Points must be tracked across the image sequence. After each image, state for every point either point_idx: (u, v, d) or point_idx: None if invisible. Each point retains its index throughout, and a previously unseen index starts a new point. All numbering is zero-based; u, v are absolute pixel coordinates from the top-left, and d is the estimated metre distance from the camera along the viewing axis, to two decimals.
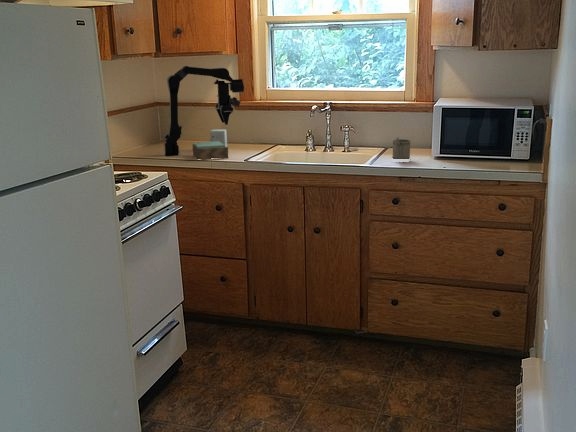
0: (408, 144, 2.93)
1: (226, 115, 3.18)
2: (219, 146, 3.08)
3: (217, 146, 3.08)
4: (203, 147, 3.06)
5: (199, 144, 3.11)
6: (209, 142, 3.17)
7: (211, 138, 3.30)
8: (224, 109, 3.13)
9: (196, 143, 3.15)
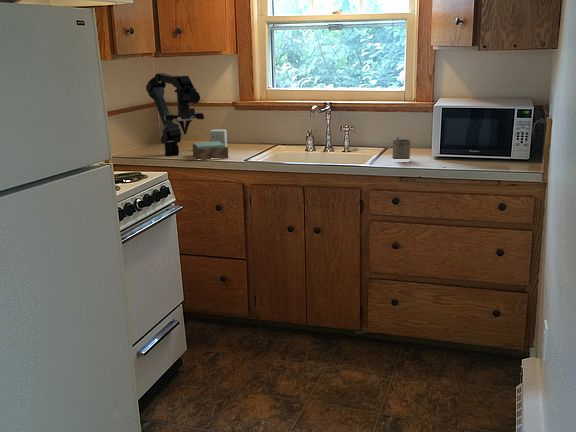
0: (408, 144, 2.93)
1: None
2: (219, 146, 3.08)
3: (217, 146, 3.08)
4: (203, 147, 3.06)
5: (199, 144, 3.11)
6: (209, 142, 3.17)
7: (211, 138, 3.30)
8: (164, 117, 3.05)
9: (196, 143, 3.15)
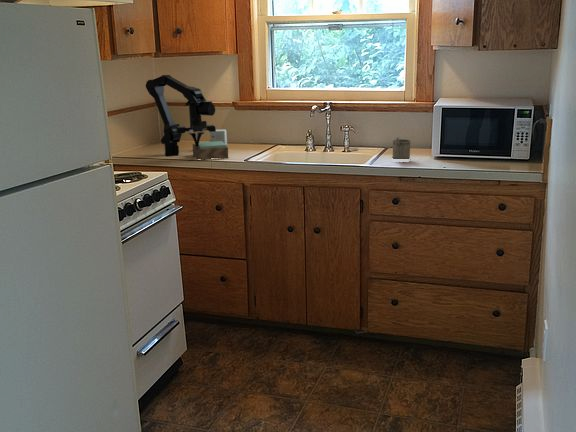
0: (408, 144, 2.93)
1: None
2: (221, 146, 3.08)
3: (219, 146, 3.08)
4: (205, 147, 3.06)
5: (201, 144, 3.12)
6: (211, 142, 3.17)
7: (211, 138, 3.30)
8: (176, 130, 3.08)
9: None
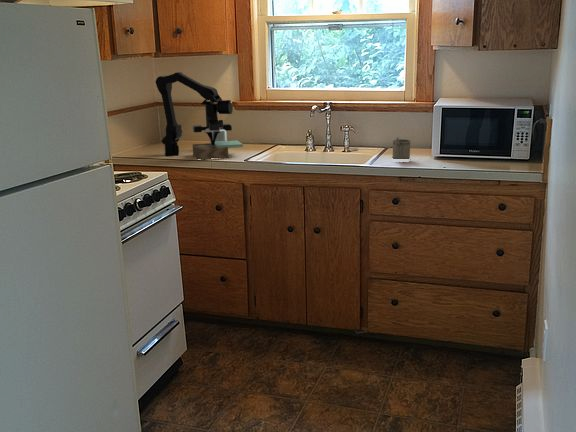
0: (408, 144, 2.93)
1: None
2: (238, 145, 3.10)
3: (236, 145, 3.10)
4: (222, 146, 3.08)
5: (218, 143, 3.14)
6: (227, 141, 3.19)
7: None
8: None
9: None
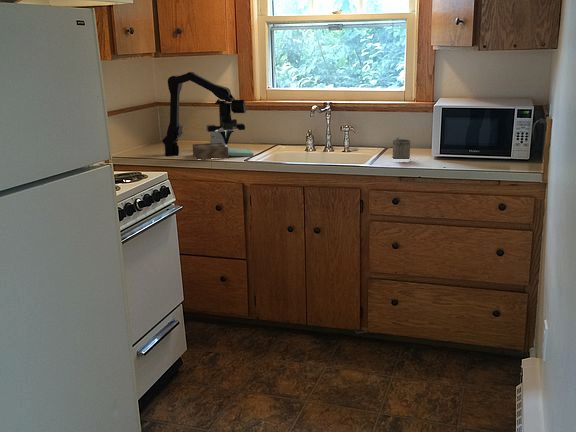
0: (408, 144, 2.93)
1: (223, 135, 3.14)
2: (248, 154, 3.13)
3: (247, 154, 3.13)
4: (233, 153, 3.11)
5: (229, 150, 3.16)
6: (238, 149, 3.22)
7: (211, 138, 3.30)
8: (206, 128, 3.12)
9: None
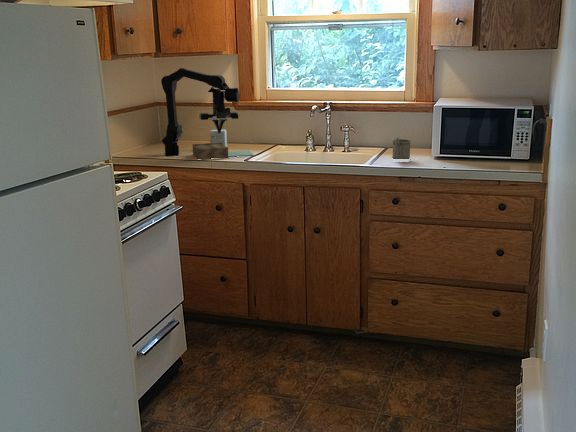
0: (408, 144, 2.93)
1: (216, 123, 3.11)
2: (249, 155, 3.13)
3: (247, 155, 3.13)
4: (233, 156, 3.11)
5: (229, 153, 3.17)
6: (239, 151, 3.22)
7: (211, 138, 3.30)
8: (199, 116, 3.09)
9: None
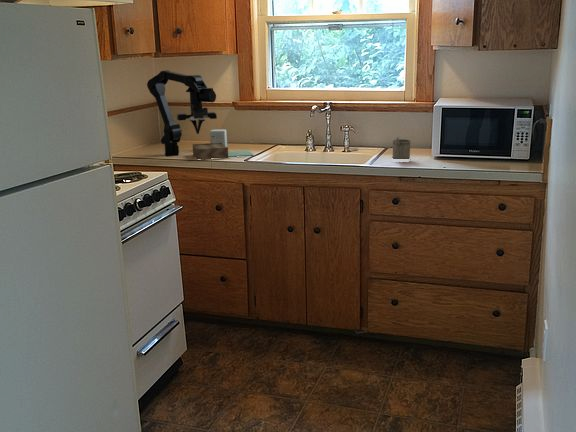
0: (408, 144, 2.93)
1: (194, 124, 3.07)
2: (249, 155, 3.13)
3: (247, 155, 3.13)
4: (233, 156, 3.11)
5: (229, 153, 3.17)
6: (239, 151, 3.22)
7: (211, 138, 3.30)
8: (177, 117, 3.05)
9: None
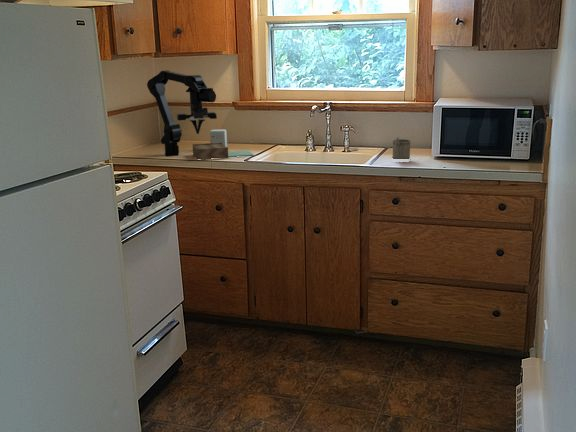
0: (408, 144, 2.93)
1: (194, 124, 3.07)
2: (249, 155, 3.13)
3: (247, 155, 3.13)
4: (233, 156, 3.11)
5: (229, 153, 3.17)
6: (239, 151, 3.22)
7: (211, 138, 3.30)
8: (177, 117, 3.05)
9: None
